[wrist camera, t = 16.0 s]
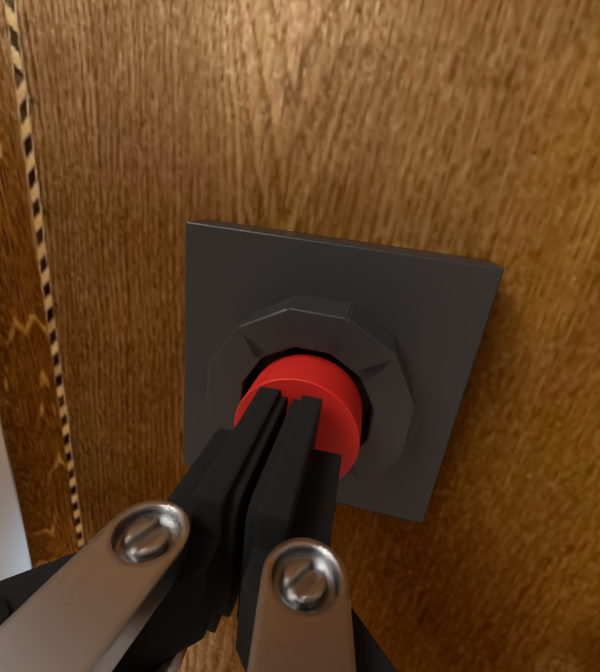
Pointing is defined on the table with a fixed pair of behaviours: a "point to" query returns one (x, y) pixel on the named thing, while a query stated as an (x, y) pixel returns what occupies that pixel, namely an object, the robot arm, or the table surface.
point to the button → (322, 382)
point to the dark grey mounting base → (338, 342)
